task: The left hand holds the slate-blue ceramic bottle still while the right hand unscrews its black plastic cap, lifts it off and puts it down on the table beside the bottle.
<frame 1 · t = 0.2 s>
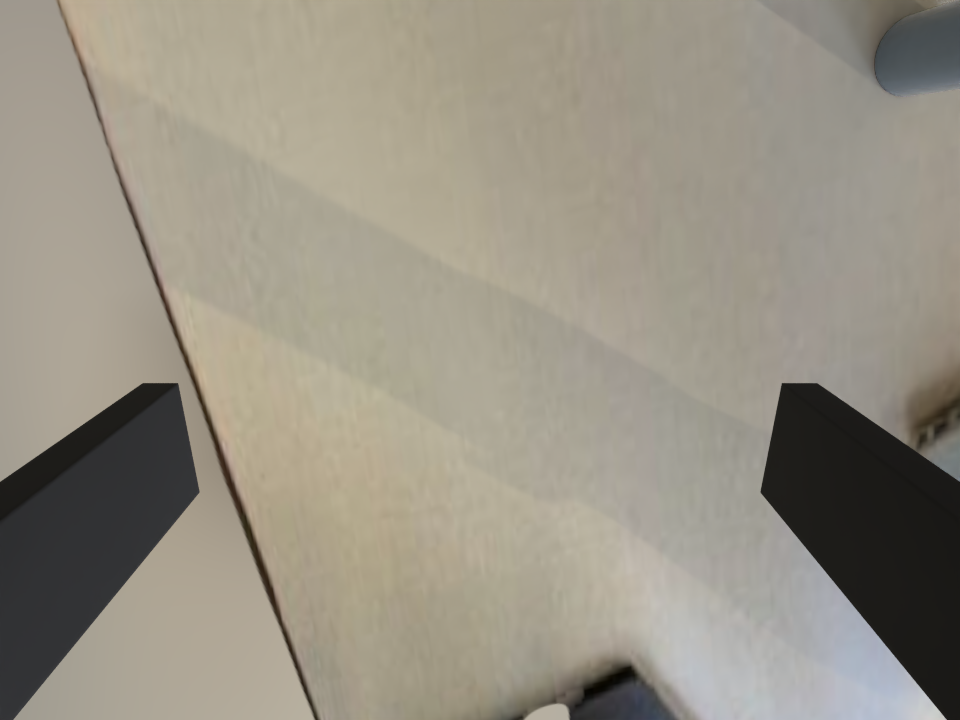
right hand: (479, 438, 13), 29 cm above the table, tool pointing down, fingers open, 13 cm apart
bottle: (912, 55, 36), on the table
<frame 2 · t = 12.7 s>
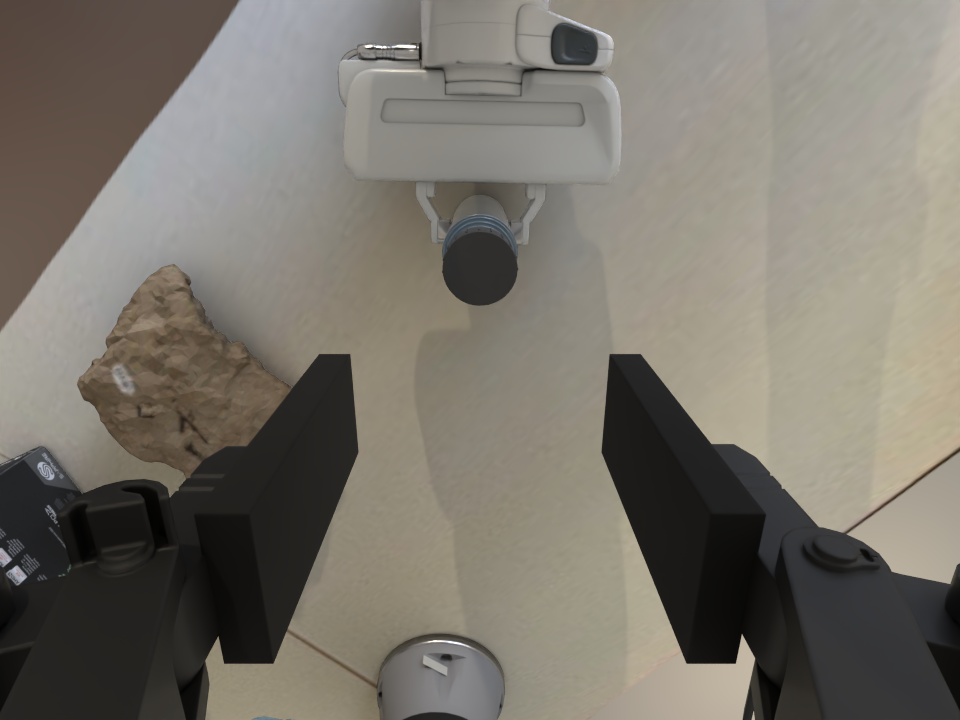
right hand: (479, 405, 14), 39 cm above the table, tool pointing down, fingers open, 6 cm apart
left hand: (480, 243, 45), fingers closed on bottle, 5 cm apart
bottle: (479, 222, 51), on the table, touching left hand
graphics card box: (73, 512, 61), on the table
cap: (480, 268, 31), point 21 cm above the table, screwed on, not yet turned
stone: (215, 384, 56), on the table
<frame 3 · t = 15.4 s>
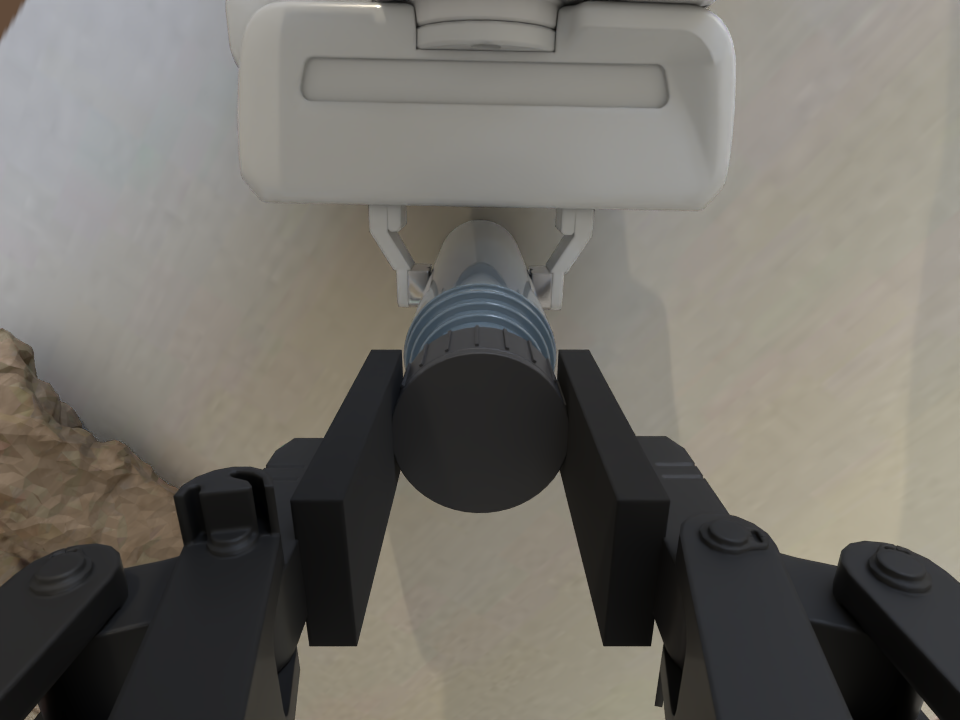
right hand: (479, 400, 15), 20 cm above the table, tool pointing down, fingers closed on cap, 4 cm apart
left hand: (480, 305, 27), fingers closed on bottle, 5 cm apart
bottle: (479, 261, 33), on the table, touching left hand
cap: (480, 431, 13), point 21 cm above the table, screwed on, not yet turned, touching right hand
stone: (91, 494, 38), on the table
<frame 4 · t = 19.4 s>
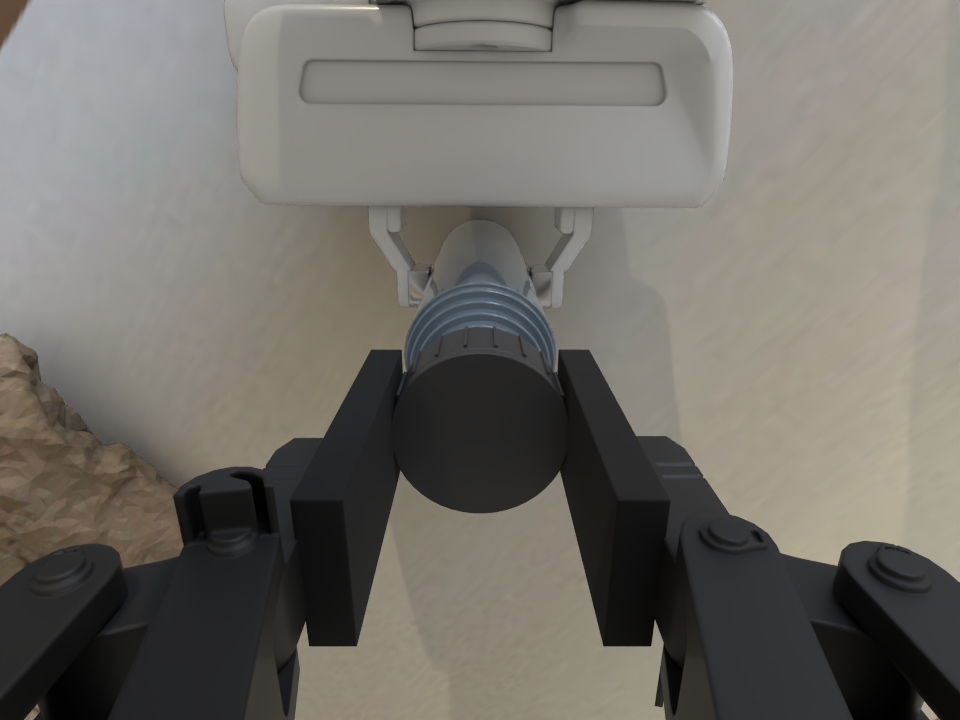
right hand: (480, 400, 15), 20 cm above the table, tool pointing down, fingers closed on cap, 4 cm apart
left hand: (480, 305, 27), fingers closed on bottle, 5 cm apart
bottle: (480, 261, 33), on the table, touching left hand
cap: (480, 431, 13), point 21 cm above the table, turned 139° so far, risen 0.1 cm, still on its thread, touching right hand
stone: (97, 497, 39), on the table
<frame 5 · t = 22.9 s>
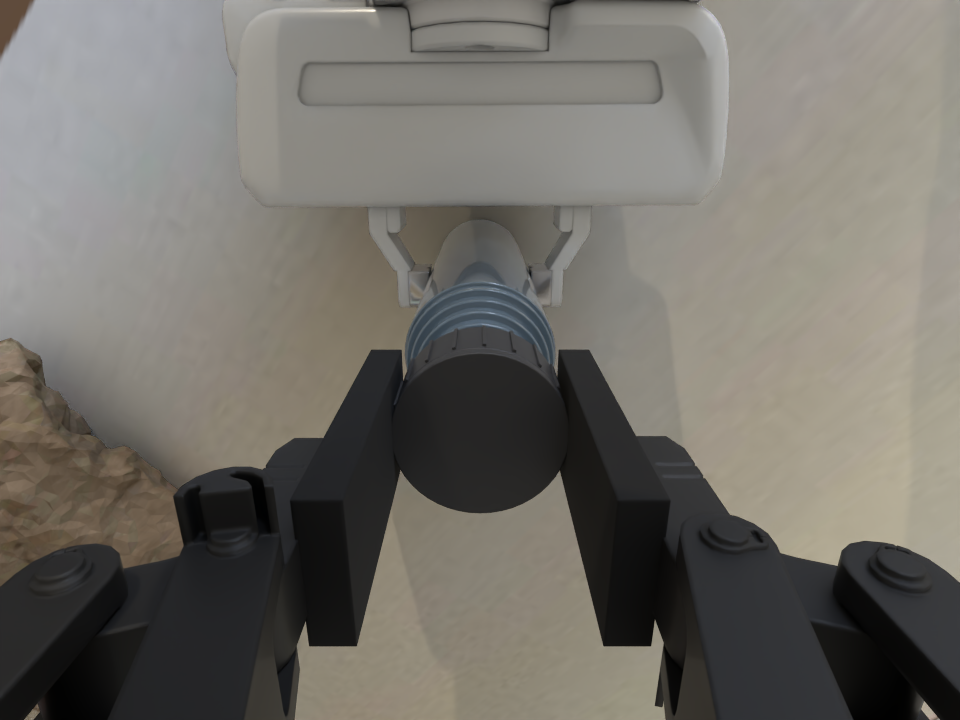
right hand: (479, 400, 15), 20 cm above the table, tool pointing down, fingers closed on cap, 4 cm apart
left hand: (481, 304, 27), fingers closed on bottle, 5 cm apart
bottle: (480, 260, 33), on the table, touching left hand
cap: (480, 431, 13), point 21 cm above the table, turned 278° so far, risen 0.2 cm, still on its thread, touching right hand
stone: (102, 500, 39), on the table
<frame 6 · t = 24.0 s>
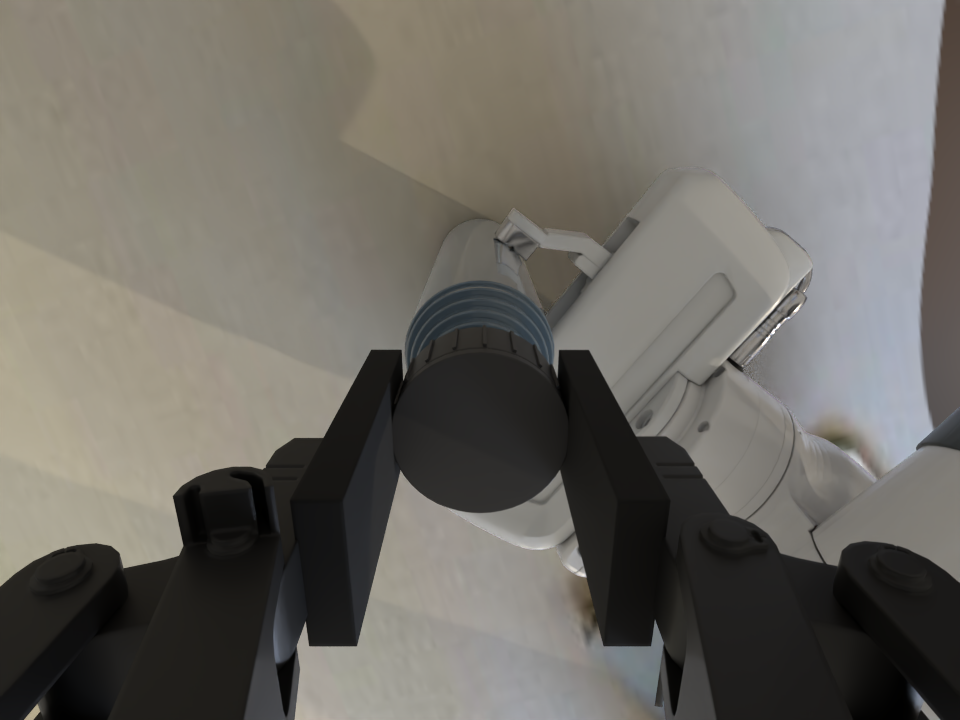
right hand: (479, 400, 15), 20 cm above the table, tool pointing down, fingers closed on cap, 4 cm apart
left hand: (464, 274, 27), fingers closed on bottle, 5 cm apart
bottle: (479, 260, 33), on the table, touching left hand
cap: (480, 431, 13), point 22 cm above the table, off its thread, touching right hand
when the right hand's fingers open (2 cm above the table, at t = 32.0 s): cap drops 2 cm, point 2 cm above the table.
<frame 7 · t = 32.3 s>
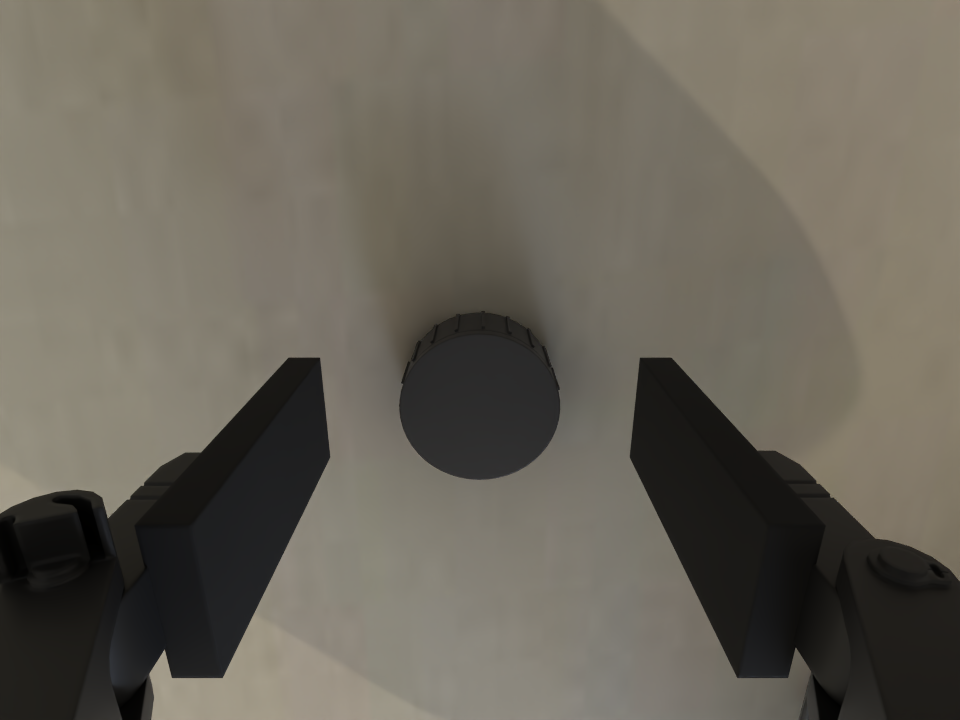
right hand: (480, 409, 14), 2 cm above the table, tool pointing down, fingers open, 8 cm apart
cap: (479, 405, 15), point 2 cm above the table, off its thread
when the left hand's fingers open (7 cm above the table, at t = 33.3 s): bottle stays where it is, on the table.
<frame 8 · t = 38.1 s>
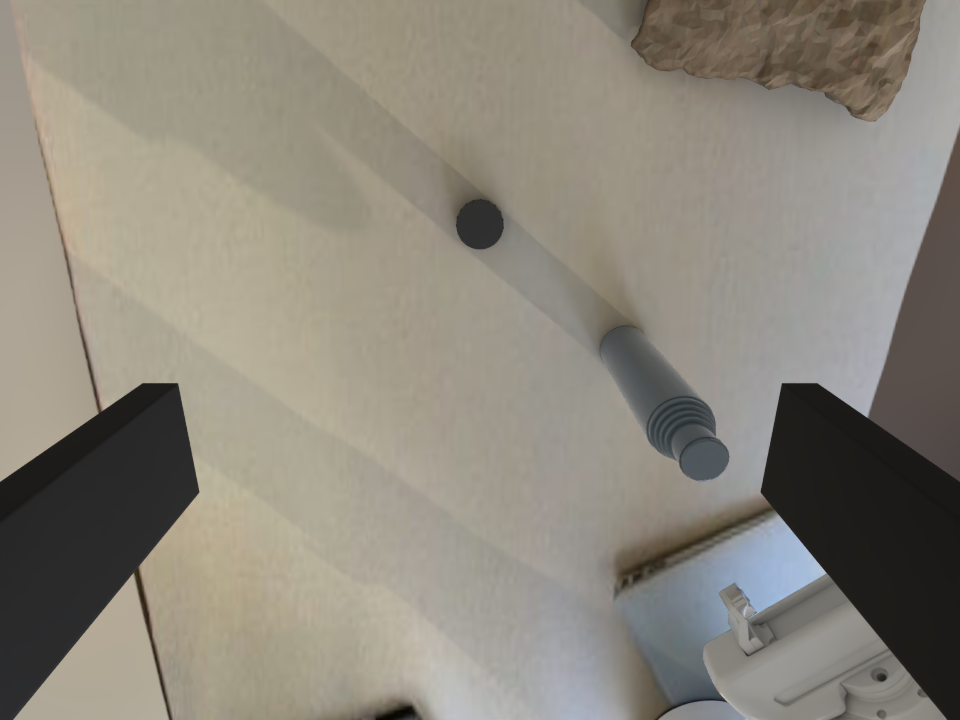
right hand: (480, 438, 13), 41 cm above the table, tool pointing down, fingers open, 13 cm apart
bottle: (624, 349, 55), on the table
cap: (479, 225, 49), point 2 cm above the table, off its thread
stone: (771, 1, 45), on the table
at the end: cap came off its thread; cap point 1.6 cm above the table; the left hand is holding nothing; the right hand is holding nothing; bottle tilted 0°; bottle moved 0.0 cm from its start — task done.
